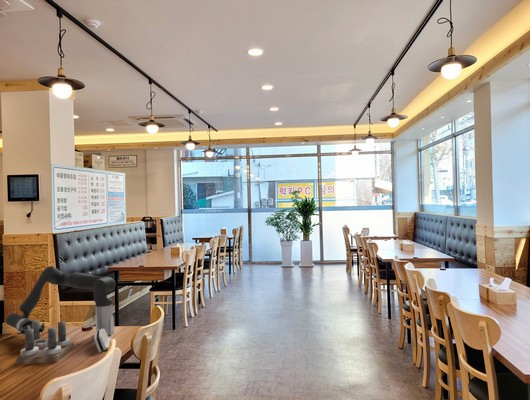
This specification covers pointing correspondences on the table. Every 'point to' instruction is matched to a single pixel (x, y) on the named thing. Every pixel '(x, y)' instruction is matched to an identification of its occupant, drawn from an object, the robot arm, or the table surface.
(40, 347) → the upturned partly assembled table
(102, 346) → the white arched grooved block
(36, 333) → the loose leg
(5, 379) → the table surface
